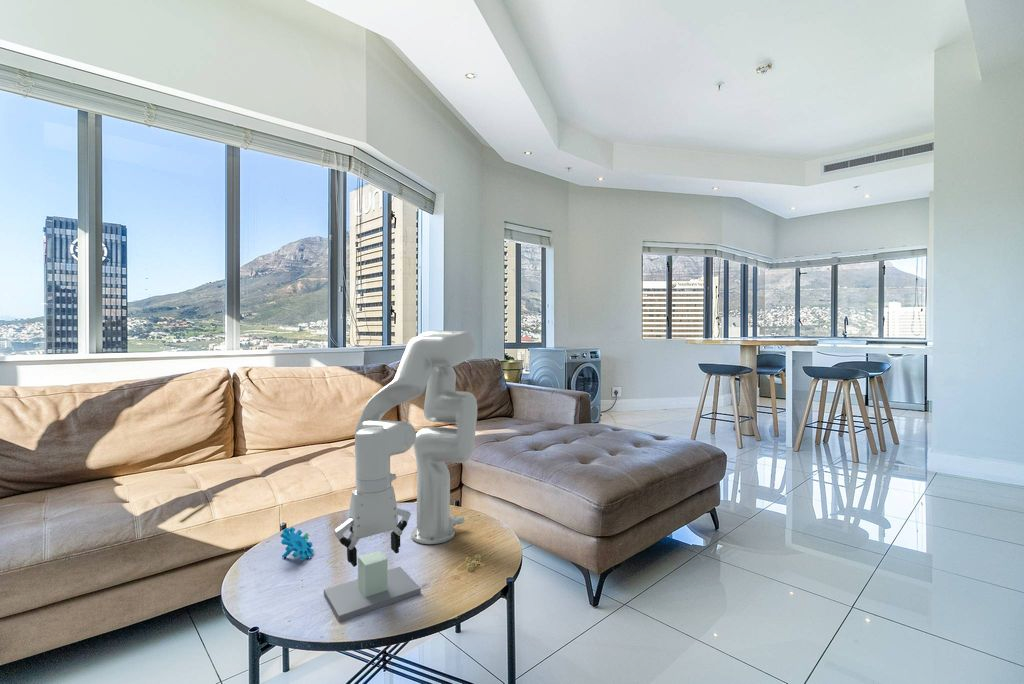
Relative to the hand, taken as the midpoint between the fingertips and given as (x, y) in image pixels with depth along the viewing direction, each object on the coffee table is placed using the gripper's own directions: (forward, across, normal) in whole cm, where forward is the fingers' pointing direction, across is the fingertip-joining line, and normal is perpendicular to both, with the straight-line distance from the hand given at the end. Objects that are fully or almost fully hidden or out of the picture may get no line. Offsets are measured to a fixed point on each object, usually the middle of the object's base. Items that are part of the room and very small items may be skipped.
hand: (374, 557), depth 105 cm
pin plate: (+8, +1, +1) cm, 8 cm away
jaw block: (+7, +1, +1) cm, 7 cm away
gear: (+9, +11, -28) cm, 31 cm away
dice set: (+10, -25, +2) cm, 27 cm away
